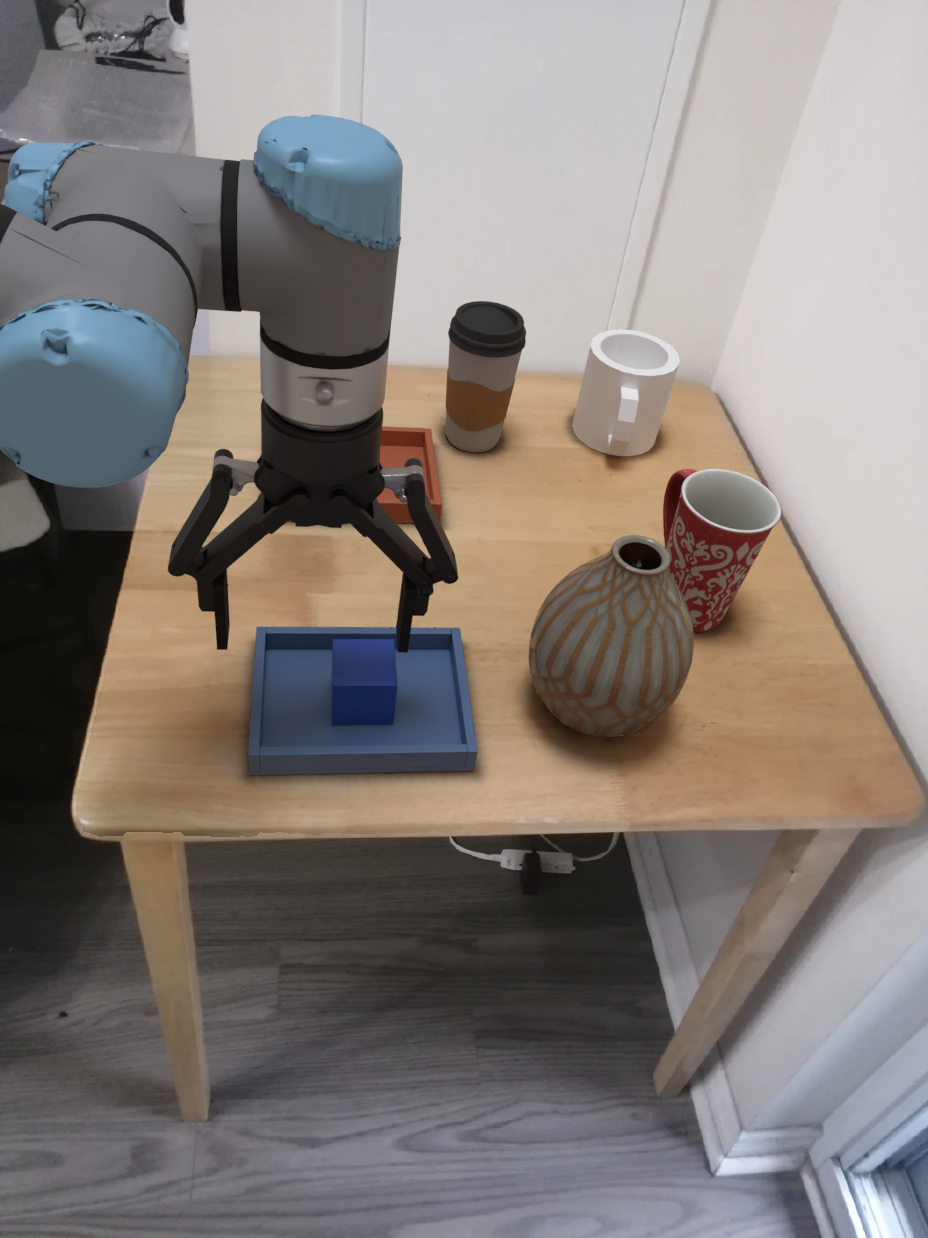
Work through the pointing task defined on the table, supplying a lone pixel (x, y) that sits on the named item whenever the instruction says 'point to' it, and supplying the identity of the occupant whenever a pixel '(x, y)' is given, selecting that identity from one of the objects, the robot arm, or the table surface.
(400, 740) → the blue tray
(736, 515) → the mug
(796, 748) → the table surface
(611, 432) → the mug
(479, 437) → the coffee cup
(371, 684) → the blue block
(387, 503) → the terracotta tray
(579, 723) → the vase
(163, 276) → the robot arm
